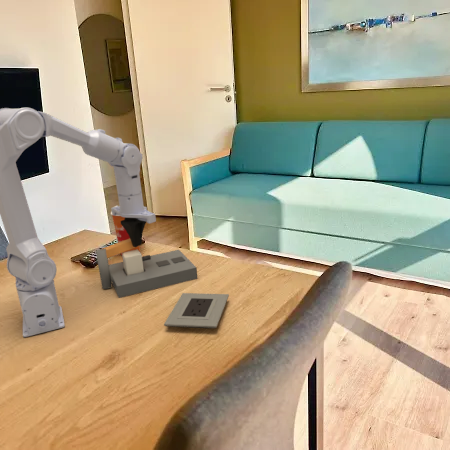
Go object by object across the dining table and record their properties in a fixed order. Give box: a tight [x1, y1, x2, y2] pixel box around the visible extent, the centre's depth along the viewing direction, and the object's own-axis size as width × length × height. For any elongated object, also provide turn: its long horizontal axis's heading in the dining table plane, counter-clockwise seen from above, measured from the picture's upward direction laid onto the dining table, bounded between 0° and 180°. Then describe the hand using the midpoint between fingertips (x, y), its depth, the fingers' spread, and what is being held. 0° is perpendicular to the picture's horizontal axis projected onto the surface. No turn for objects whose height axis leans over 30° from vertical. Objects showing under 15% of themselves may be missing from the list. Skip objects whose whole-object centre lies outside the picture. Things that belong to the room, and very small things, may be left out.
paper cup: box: [110, 205, 141, 256], centre depth 126 cm, size 8×8×14 cm
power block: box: [109, 249, 199, 299], centre depth 111 cm, size 14×20×3 cm
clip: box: [95, 239, 142, 290], centre depth 109 cm, size 12×2×10 cm, turn 137°
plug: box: [121, 249, 151, 276], centre depth 109 cm, size 4×6×8 cm, turn 114°
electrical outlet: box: [163, 292, 230, 330], centre depth 91 cm, size 13×10×2 cm
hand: (137, 245), depth 110 cm, fingers closed
